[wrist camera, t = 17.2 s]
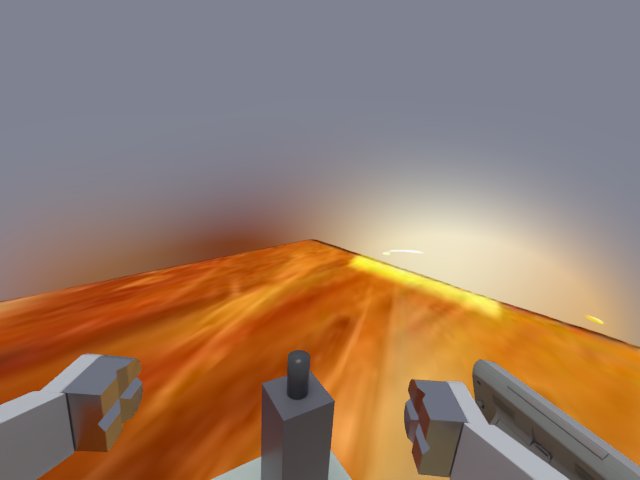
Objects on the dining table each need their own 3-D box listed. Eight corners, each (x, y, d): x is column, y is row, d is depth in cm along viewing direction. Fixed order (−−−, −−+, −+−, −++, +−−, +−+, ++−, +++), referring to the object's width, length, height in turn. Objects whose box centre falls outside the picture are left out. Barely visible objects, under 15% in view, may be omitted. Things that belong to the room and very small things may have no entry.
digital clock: (681, 616, 23) (743, 502, 20) (572, 644, 21) (622, 524, 18) (512, 427, 38) (534, 347, 35) (441, 434, 37) (458, 352, 34)
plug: (279, 549, 25) (285, 382, 21) (260, 501, 28) (262, 349, 24) (324, 522, 27) (337, 365, 23) (302, 480, 30) (310, 336, 26)
